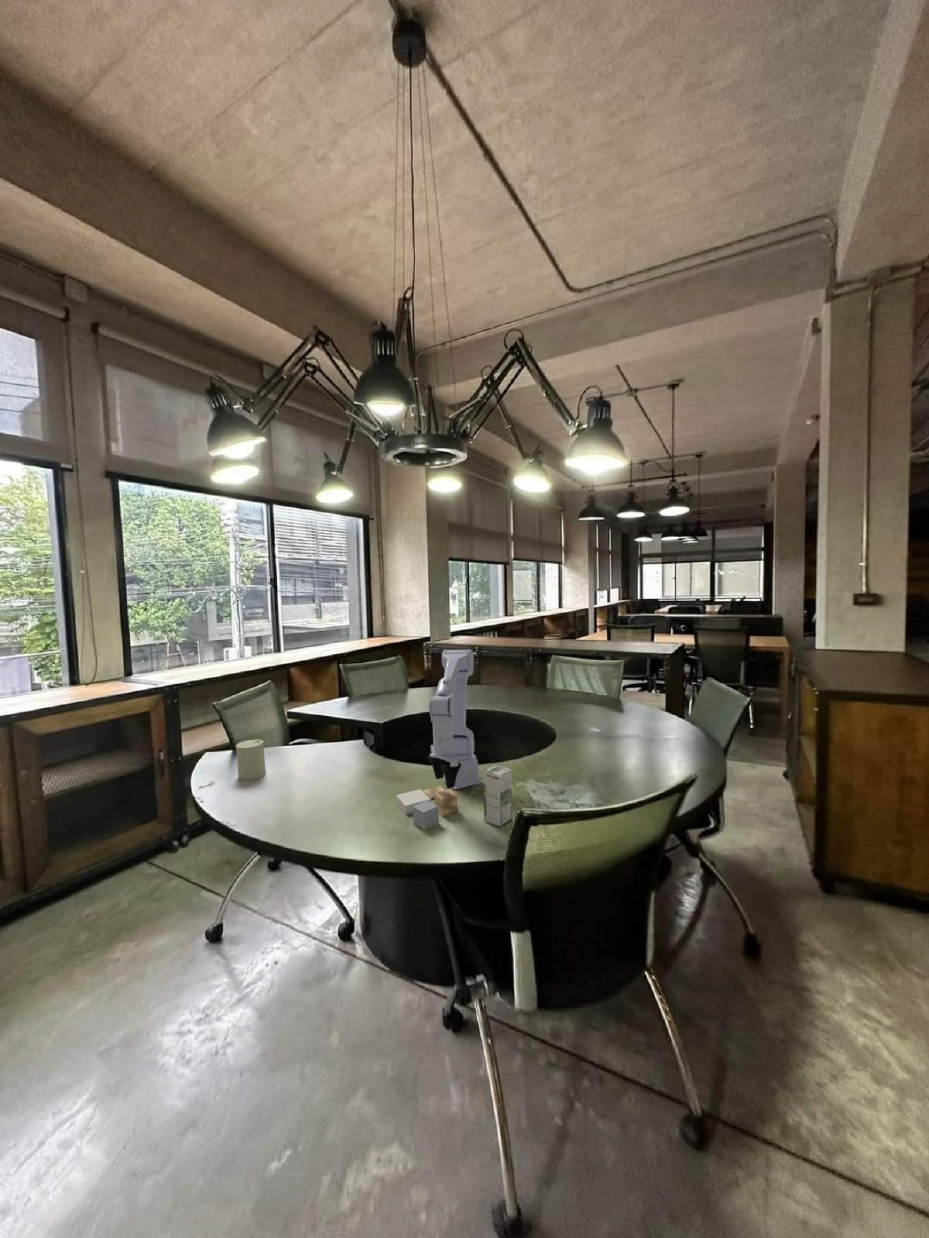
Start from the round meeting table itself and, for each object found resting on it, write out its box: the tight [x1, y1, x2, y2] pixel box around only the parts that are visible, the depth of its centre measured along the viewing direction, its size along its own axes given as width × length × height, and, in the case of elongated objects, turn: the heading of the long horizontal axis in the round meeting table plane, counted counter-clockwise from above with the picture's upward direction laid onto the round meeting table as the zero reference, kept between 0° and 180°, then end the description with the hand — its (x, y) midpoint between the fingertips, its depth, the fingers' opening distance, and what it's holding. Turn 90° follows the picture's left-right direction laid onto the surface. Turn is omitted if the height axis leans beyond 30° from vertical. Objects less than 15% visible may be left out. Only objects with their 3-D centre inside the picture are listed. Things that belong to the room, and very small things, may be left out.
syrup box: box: [482, 765, 513, 828], centre depth 136 cm, size 6×6×14 cm
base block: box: [395, 788, 432, 815], centre depth 147 cm, size 8×8×3 cm
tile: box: [422, 785, 446, 801], centre depth 155 cm, size 7×7×1 cm
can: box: [235, 738, 267, 781], centre depth 175 cm, size 9×9×12 cm
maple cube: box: [434, 788, 459, 817], centre depth 143 cm, size 5×5×5 cm
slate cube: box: [412, 801, 440, 831], centre depth 136 cm, size 5×5×5 cm
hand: (444, 782), depth 143 cm, fingers open, 7 cm apart
